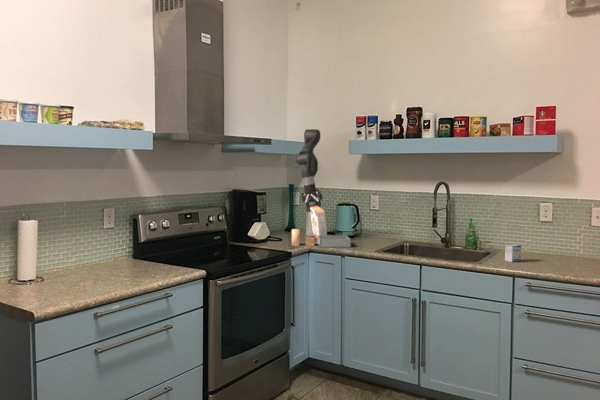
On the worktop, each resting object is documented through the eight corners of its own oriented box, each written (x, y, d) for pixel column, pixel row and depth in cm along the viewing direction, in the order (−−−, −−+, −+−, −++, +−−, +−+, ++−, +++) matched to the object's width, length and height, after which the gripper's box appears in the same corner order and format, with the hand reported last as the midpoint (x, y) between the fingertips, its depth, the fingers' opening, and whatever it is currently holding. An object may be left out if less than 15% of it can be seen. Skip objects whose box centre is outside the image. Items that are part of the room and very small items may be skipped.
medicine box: (511, 262, 268) (512, 246, 267) (504, 261, 272) (505, 245, 271) (521, 260, 272) (521, 245, 272) (513, 259, 276) (514, 243, 275)
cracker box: (312, 235, 343) (309, 206, 337) (320, 233, 345) (317, 205, 339) (319, 242, 330) (316, 212, 324) (328, 240, 332) (325, 210, 326)
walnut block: (305, 244, 321) (305, 236, 320) (313, 244, 321) (313, 236, 321) (306, 246, 316) (306, 238, 316) (314, 246, 316) (314, 238, 316)
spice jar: (291, 244, 321) (291, 228, 320) (299, 244, 322) (299, 228, 321) (291, 245, 316) (291, 229, 315) (299, 245, 317) (299, 229, 316)
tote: (316, 243, 327) (317, 235, 326) (346, 242, 328) (346, 235, 328) (320, 247, 309) (320, 239, 309) (350, 247, 311) (351, 239, 311)
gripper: (321, 181, 331) (325, 205, 333) (302, 183, 338) (307, 207, 340) (315, 183, 324) (320, 207, 327) (297, 185, 332) (302, 209, 334)
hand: (313, 207), depth 334 cm, fingers open, 8 cm apart
